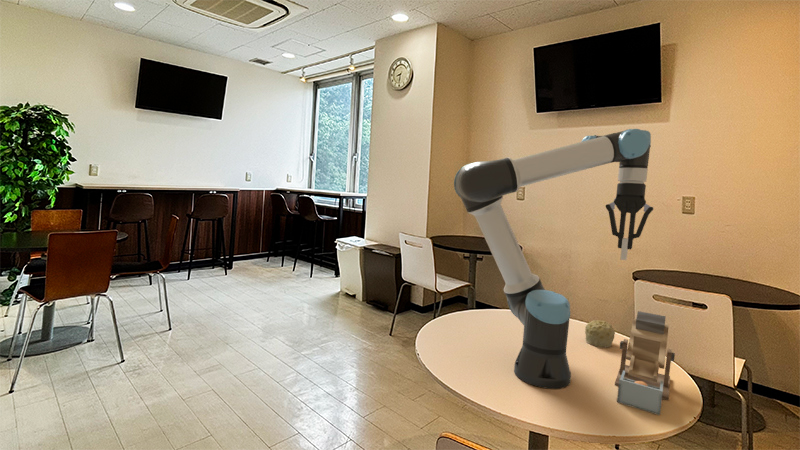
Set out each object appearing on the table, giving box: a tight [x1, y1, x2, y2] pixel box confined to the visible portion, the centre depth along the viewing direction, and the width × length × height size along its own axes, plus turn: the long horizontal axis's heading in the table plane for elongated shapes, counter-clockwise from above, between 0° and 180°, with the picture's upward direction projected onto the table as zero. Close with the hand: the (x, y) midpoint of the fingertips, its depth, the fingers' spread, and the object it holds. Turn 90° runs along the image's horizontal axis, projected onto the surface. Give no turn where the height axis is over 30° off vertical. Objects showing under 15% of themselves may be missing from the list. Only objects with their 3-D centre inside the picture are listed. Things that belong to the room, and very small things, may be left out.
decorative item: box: [584, 319, 616, 349], centre depth 141 cm, size 10×10×10 cm
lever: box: [626, 310, 670, 383], centre depth 111 cm, size 22×9×9 cm
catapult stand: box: [614, 338, 676, 401], centre depth 112 cm, size 15×13×10 cm
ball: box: [634, 381, 649, 387], centre depth 104 cm, size 4×4×4 cm
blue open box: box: [616, 370, 663, 416], centre depth 102 cm, size 9×9×6 cm
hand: (623, 259), depth 124 cm, fingers closed
